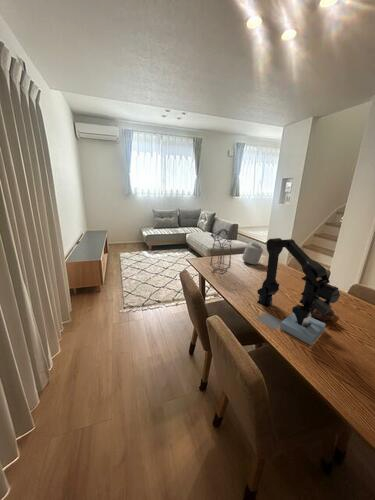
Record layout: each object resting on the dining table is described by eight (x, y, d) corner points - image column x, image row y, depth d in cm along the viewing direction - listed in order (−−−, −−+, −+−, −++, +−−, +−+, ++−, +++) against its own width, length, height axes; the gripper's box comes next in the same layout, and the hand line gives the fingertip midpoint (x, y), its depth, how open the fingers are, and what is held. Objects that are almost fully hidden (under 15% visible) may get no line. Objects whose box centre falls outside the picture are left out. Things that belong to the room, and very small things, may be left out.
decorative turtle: (305, 308, 116) (309, 296, 114) (336, 321, 108) (342, 308, 105) (301, 315, 109) (306, 302, 107) (335, 330, 100) (341, 316, 98)
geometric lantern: (206, 270, 166) (209, 228, 156) (218, 266, 176) (222, 226, 167) (221, 276, 155) (225, 231, 145) (233, 272, 165) (238, 229, 156)
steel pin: (295, 329, 99) (299, 311, 96) (299, 326, 101) (303, 308, 98) (304, 334, 96) (308, 315, 93) (307, 330, 98) (312, 312, 95)
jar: (261, 261, 191) (265, 235, 184) (264, 267, 177) (268, 239, 170) (241, 259, 194) (244, 233, 187) (242, 265, 180) (245, 237, 173)
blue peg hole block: (279, 329, 99) (281, 322, 98) (294, 316, 109) (295, 310, 107) (310, 346, 89) (312, 338, 87) (324, 331, 98) (326, 324, 97)
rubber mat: (256, 320, 105) (256, 319, 105) (266, 313, 111) (266, 312, 111) (274, 330, 98) (274, 329, 98) (284, 322, 104) (284, 321, 104)
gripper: (323, 306, 81) (314, 339, 85) (338, 292, 92) (329, 322, 97) (294, 295, 89) (288, 325, 94) (311, 283, 100) (305, 311, 105)
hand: (303, 321), depth 97 cm, fingers open, 9 cm apart
